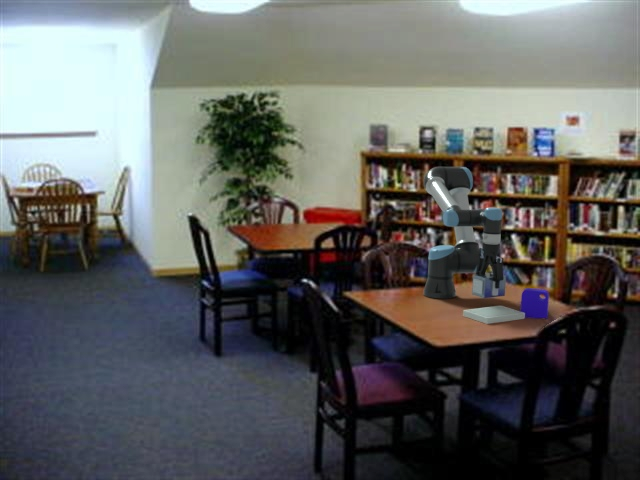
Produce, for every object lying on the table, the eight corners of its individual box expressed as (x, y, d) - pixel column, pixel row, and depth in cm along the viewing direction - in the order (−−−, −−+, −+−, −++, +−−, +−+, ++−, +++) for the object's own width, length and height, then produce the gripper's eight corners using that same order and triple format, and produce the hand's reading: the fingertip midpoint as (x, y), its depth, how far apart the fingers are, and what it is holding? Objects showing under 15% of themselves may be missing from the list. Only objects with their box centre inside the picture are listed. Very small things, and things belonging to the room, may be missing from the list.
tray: (462, 315, 361) (463, 309, 361) (500, 311, 372) (500, 305, 371) (486, 323, 348) (487, 317, 348) (524, 318, 359) (525, 312, 359)
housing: (471, 294, 379) (472, 272, 377) (492, 292, 385) (493, 269, 384) (483, 298, 372) (484, 275, 370) (504, 295, 378) (506, 273, 377)
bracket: (546, 319, 359) (548, 292, 358) (520, 316, 363) (521, 289, 361) (550, 310, 376) (552, 284, 374) (525, 307, 380) (526, 282, 378)
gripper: (469, 239, 382) (466, 289, 385) (501, 247, 364) (498, 299, 368) (482, 238, 386) (479, 287, 389) (514, 246, 368) (511, 297, 372)
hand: (488, 293), depth 379 cm, fingers closed on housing, 8 cm apart
